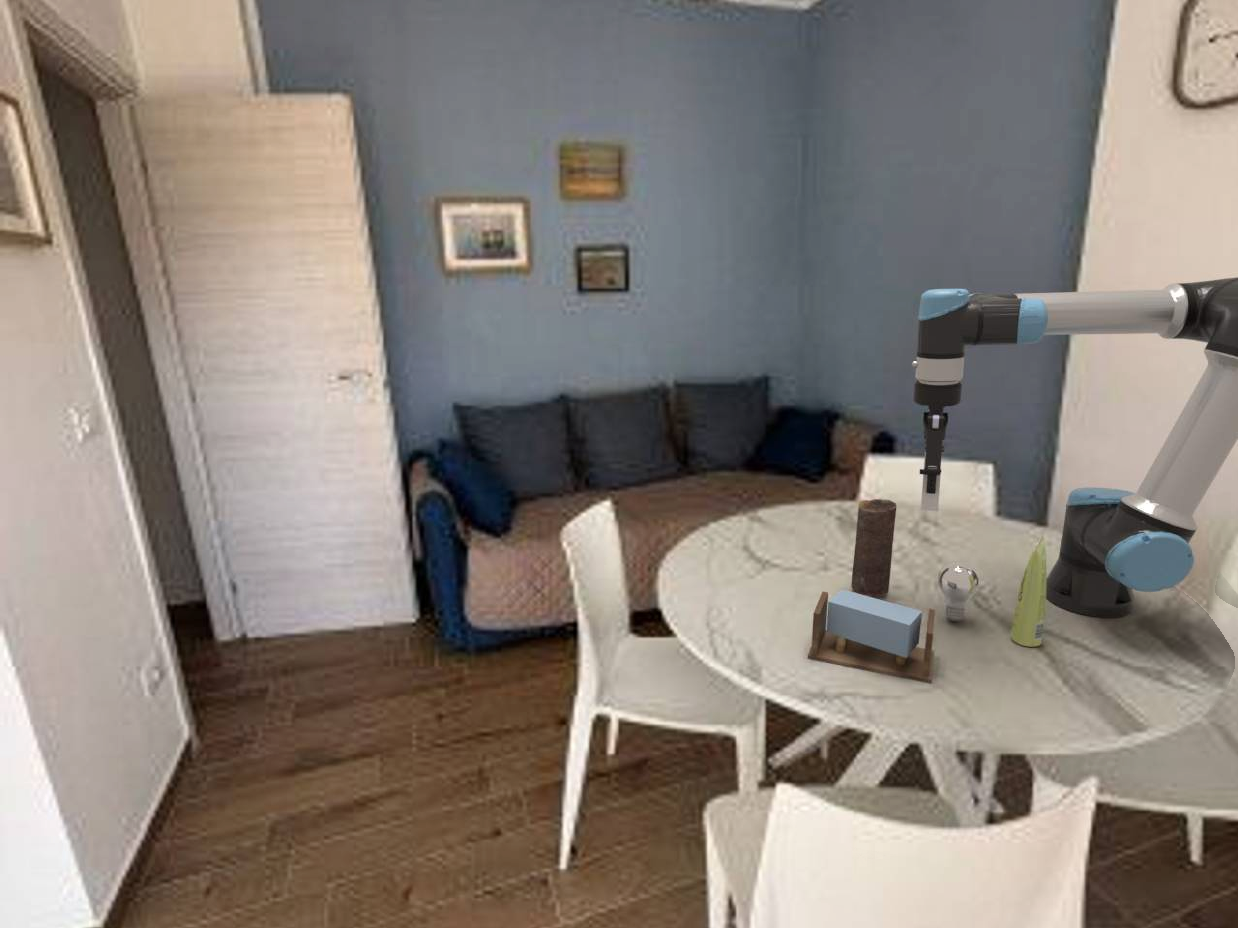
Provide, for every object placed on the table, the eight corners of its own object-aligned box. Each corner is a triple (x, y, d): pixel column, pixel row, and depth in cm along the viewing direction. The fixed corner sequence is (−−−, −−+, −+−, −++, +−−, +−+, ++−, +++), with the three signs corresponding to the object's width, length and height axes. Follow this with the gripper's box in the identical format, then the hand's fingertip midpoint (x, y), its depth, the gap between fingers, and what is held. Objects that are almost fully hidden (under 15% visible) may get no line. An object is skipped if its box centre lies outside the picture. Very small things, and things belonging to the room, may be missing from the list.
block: (840, 619, 134) (842, 589, 132) (918, 642, 125) (922, 611, 123) (826, 632, 129) (828, 601, 128) (906, 657, 121) (909, 625, 119)
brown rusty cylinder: (891, 603, 147) (899, 509, 141) (852, 600, 148) (859, 507, 143) (885, 586, 154) (893, 496, 149) (849, 584, 156) (855, 495, 150)
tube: (1002, 633, 135) (1015, 534, 129) (1028, 631, 135) (1043, 532, 130) (1021, 649, 129) (1036, 546, 124) (1048, 647, 130) (1064, 544, 124)
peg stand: (933, 653, 129) (938, 609, 126) (931, 682, 120) (936, 636, 117) (817, 631, 137) (820, 589, 134) (807, 658, 128) (810, 613, 126)
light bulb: (950, 632, 135) (957, 572, 132) (926, 615, 142) (932, 558, 139) (982, 626, 137) (989, 567, 134) (956, 610, 144) (963, 553, 140)
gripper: (916, 369, 139) (910, 476, 145) (912, 393, 117) (904, 518, 123) (960, 369, 136) (951, 479, 142) (964, 395, 114) (953, 522, 120)
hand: (929, 497), depth 132 cm, fingers open, 13 cm apart
